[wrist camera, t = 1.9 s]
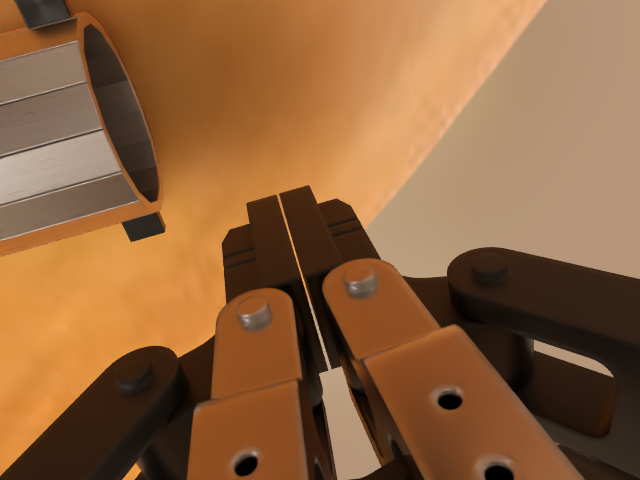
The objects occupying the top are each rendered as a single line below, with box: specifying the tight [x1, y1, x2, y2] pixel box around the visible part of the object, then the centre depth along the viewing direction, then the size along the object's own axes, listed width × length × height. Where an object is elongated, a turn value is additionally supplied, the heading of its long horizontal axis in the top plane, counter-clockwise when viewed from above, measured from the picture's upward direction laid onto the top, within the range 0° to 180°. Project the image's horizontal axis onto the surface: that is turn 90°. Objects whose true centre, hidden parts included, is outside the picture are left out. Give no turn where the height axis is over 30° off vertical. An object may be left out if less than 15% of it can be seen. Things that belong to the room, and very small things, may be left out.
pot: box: [0, 0, 165, 257], centre depth 24 cm, size 9×12×9 cm
